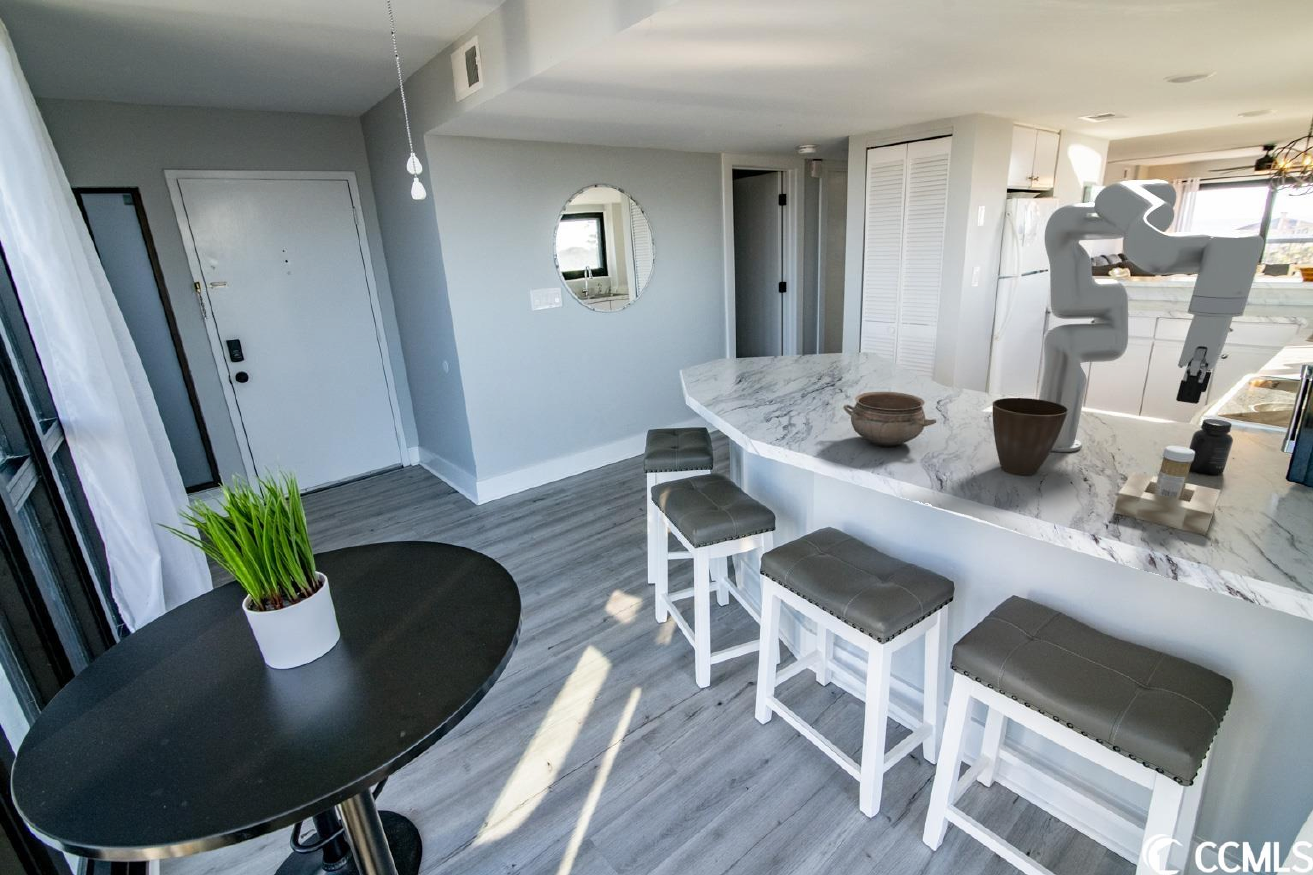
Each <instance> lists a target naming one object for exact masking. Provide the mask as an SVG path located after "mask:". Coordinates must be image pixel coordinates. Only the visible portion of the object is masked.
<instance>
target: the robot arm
mask: <svg viewBox="0 0 1313 875" xmlns="http://www.w3.org/2000/svg"><path fill="white" fill-rule="evenodd" d="M1176 202H1177V191H1176V189H1175V187H1174V186H1173V185H1172V184H1171V183H1170V182H1168V181H1166V180H1161V179H1147V180H1125V181H1118V182H1115V183H1114V182H1113V183H1111V184H1110V185H1107V186H1106V187H1104V188H1102V190H1100V191H1099V192H1098V194H1097V195H1096V197H1095V199H1094V202H1081V203H1072V204H1068V205H1064V206H1062V207H1060V208H1057V209H1056V210H1055V211H1054V212H1053V213H1052V214H1051V215H1050V217H1049V218H1048V221H1047V223H1046V226H1045V229H1044V246H1045V252H1046V254H1047V258H1048V262H1049V270H1050V272H1049V274H1050V275H1049V277H1050V278H1049V280H1050V282H1049V283H1050V309H1051V312H1052V315H1053V316H1054V317H1055V318H1058V319H1061V320H1062V319H1063V320H1084V319H1085V320H1086V319H1088V320H1089V319H1093V320H1094V323H1069V324H1068V323H1067V324H1063V325H1062V324H1060V325H1058V326H1055V327H1053V328H1052V329H1050V330H1049V331H1048V332H1047V333H1046V335H1045V338H1044V342H1043V354H1044V355H1043V357H1044V359H1043V364H1044V365H1043V373H1042V378H1041V379H1042V380H1041V386H1040V390H1039V397H1038V399H1039V400H1045V401H1050V402H1054V403H1057V404H1060V405H1063V406H1065V407H1066V408H1067V409H1068V412H1067V415H1066V418H1065V421H1064V423H1063V426H1062V428H1061V431H1060V433H1059V435H1058V438H1057V440H1056V442H1055V444H1054V446H1053V448H1052V449H1051V451H1050V452H1057V453H1058V452H1059V453H1071V452H1076V451H1080V449H1081V448H1082V445H1083V444H1082V442H1081V441H1080V440H1078V439H1076V438H1077V434H1078V428H1079V424H1080V423H1079V422H1080V418H1081V413H1082V408H1083V404H1084V398H1085V394H1086V388H1087V384H1088V378H1087V375H1086V373H1085V371H1084V370H1083V368H1082V366H1081V364H1082V363H1083V364H1084V363H1101V362H1102V363H1104V362H1112V361H1116V360H1118V359H1120V358H1122V356H1124V354H1125V352H1126V350H1127V348H1128V342H1129V299H1128V298H1129V297H1128V293H1127V290H1126V287H1125V286H1124V285H1123V283H1121V282H1120V281H1118V280H1116V279H1112V278H1111V279H1110V278H1102V279H1101V278H1100V279H1098V278H1096V279H1094V276H1093V273H1092V272H1093V270H1092V266H1093V265H1092V263H1093V262H1092V259H1091V256H1090V255H1089V253H1088V251H1087V249H1085V247H1084V246H1083V245H1081V244H1080V241H1095V240H1097V241H1098V240H1099V241H1101V240H1116V239H1117V240H1119V239H1122V248H1123V252H1124V256H1126V258H1127V259H1128V261H1130V262H1131V263H1132V264H1134V265H1135V266H1136V267H1137V268H1138V269H1140V270H1142V271H1144V272H1146V273H1149V274H1152V275H1158V276H1161V275H1183V274H1184V275H1186V274H1187V275H1190V274H1191V275H1194V274H1197V275H1196V280H1195V284H1194V287H1193V291H1192V295H1191V298H1190V302H1189V304H1188V305H1189V306H1188V308H1187V309H1188V310H1187V314H1190V315H1193V317H1192V318H1191V319H1192V320H1191V322H1190V324H1189V328H1188V331H1187V334H1186V337H1185V341H1184V344H1183V348H1182V350H1181V354H1180V357H1179V360H1178V363H1177V366H1178V367H1179V368H1180V369H1182V368H1184V367H1186V369H1185V372H1184V374H1183V378H1182V379H1181V380H1180V383H1179V387H1178V392H1177V394H1176V398H1175V400H1176V402H1180V403H1181V402H1182V403H1188V404H1193V405H1195V404H1196V405H1197V404H1199V402H1200V399H1201V396H1202V393H1206V391H1207V389H1208V386H1209V383H1210V379H1211V376H1212V370H1213V368H1214V367H1215V366H1216V364H1217V362H1218V361H1219V358H1220V357H1221V354H1222V351H1223V348H1224V347H1225V343H1226V340H1227V337H1228V334H1229V331H1230V328H1231V324H1232V322H1233V318H1236V317H1237V318H1238V317H1243V315H1244V312H1245V309H1246V305H1247V301H1248V298H1249V295H1250V292H1251V290H1252V285H1253V283H1254V279H1255V275H1256V273H1257V272H1256V271H1257V268H1258V265H1259V261H1260V259H1261V255H1262V252H1263V250H1264V245H1265V242H1264V241H1265V240H1264V238H1263V237H1262V236H1261V235H1258V234H1253V233H1252V234H1251V233H1250V234H1249V233H1241V234H1240V233H1228V232H1223V231H1202V232H1201V231H1199V232H1198V231H1196V232H1195V231H1193V232H1191V231H1190V232H1170V233H1169V232H1166V231H1168V229H1169V228H1170V227H1171V226H1172V223H1173V221H1174V218H1175V210H1174V208H1175V205H1176Z"/></svg>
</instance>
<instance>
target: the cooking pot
mask: <svg viewBox="0 0 1313 875" xmlns="http://www.w3.org/2000/svg"><path fill="white" fill-rule="evenodd" d="M854 400H855V404H854V406H852V405H849V404H844V406H843V410H844V411H845V413H847V414H848V415H849V416H850V423H851V426H852V428H853V430H854V431H855V432H856V433H857V434H858V435H859V436H860V437H862V438H863V439H865V440H866V441H868V442H871V443H872V444H873V445H875V446H878V447H884V448H892V447H897V446H898V445H902V444H904V443H907V442H910V441H912V440H914V439H916V438H917V437H918V436H920V434H922V432H923V431H924V428H925V427H929V426H931V425H934V424H936V423H937V422H938V420H937V419H936V418H935V419H934V418H932V419H927V418H926V415H925V411H924V408H923V406H924V405H925V402H926V401H924V399H923V398H921V397H919V396H917V395H913V394H909V393H904V392H897V391H895V392H894V391H871V392H864V393H861V394H858V395H856V396H855V398H854Z"/></svg>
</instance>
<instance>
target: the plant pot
mask: <svg viewBox="0 0 1313 875" xmlns="http://www.w3.org/2000/svg"><path fill="white" fill-rule="evenodd" d="M1067 412H1068V409H1067V408H1066V407H1065V406H1063V405H1060V404H1057V403H1054V402H1050V401H1045V400H1039V398H1038V399H1037V398H1028V397H1027V398H1026V397H1006V398H999V399H996V400H993V402H992V427H993V429H992V430H993V437H994V443H995V448H996V452H997V456H998V461H999V464H1000V468H1001V470H1003V471H1004V472H1006V473H1008V474H1012V475H1015V476H1033V475H1036V474H1037V473H1038V472H1039V470H1040V469H1041V467H1042V466H1043V464H1044V463H1045V461H1046V460H1047V458H1048V456H1049V455H1050V453H1051V452H1052V451H1051V449H1052V448H1053V446H1054V444H1055V442H1056V440H1057V438H1058V435H1059V433H1060V431H1061V428H1062V426H1063V423H1064V421H1065V418H1066V415H1067Z"/></svg>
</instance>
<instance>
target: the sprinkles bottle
mask: <svg viewBox="0 0 1313 875" xmlns="http://www.w3.org/2000/svg"><path fill="white" fill-rule="evenodd" d="M1189 448H1190V447H1185V446H1182V445H1181V446H1180V445H1179V446H1178V445H1167V446H1165V447H1164V449H1163V453H1162V456H1163V457H1162V461H1161V466H1160V469H1159V472H1158V476H1157V477H1158V479H1157V483H1156V487H1155V490H1154V494H1155V495H1160V496H1164V497H1169V498H1174V499H1178V500H1181V499H1182V497H1183V493H1184V490H1185V486H1186V483H1187V481H1188V478H1189V473H1190V471H1189V469H1190V465H1191V463H1192V461H1193V460H1194V456H1195V451H1193V450H1192V449H1189Z"/></svg>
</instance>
